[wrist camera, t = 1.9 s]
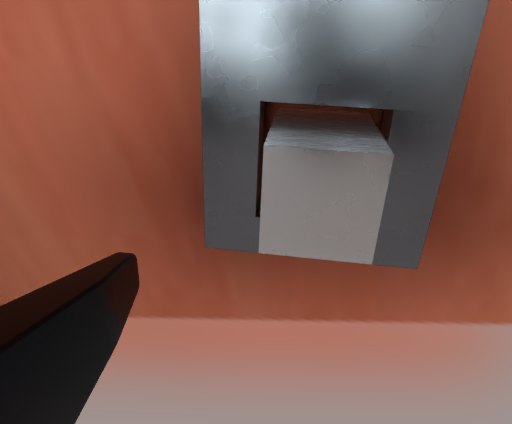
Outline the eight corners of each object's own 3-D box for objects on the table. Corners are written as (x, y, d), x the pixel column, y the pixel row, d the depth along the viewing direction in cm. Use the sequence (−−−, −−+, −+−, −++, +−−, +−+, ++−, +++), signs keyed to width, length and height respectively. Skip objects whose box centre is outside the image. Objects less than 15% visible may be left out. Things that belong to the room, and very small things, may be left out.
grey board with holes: (213, 227, 21) (203, 250, 19) (206, -404, 11) (184, -496, 9) (408, 246, 20) (419, 272, 18) (574, -427, 10) (637, -536, 8)
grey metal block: (273, 188, 19) (258, 253, 14) (278, 107, 18) (263, 145, 12) (355, 195, 19) (371, 264, 14) (368, 112, 17) (394, 155, 12)
